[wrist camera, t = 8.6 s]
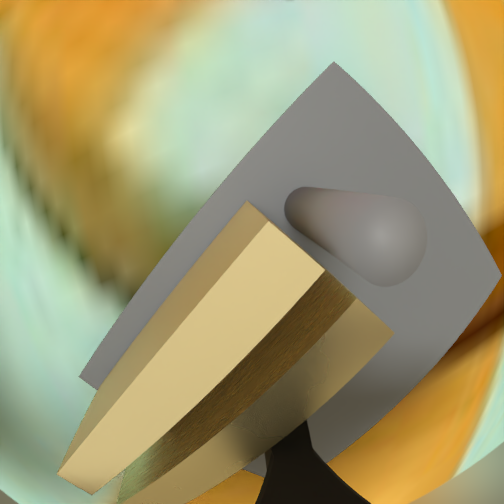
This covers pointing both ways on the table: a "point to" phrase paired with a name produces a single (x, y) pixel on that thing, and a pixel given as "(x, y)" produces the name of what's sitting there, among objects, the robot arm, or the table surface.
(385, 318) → the hinge mount
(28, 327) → the table surface
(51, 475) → the table surface
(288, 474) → the robot arm
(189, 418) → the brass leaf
